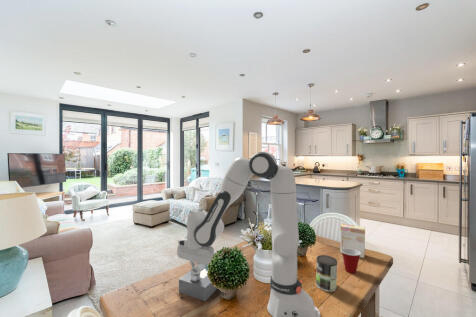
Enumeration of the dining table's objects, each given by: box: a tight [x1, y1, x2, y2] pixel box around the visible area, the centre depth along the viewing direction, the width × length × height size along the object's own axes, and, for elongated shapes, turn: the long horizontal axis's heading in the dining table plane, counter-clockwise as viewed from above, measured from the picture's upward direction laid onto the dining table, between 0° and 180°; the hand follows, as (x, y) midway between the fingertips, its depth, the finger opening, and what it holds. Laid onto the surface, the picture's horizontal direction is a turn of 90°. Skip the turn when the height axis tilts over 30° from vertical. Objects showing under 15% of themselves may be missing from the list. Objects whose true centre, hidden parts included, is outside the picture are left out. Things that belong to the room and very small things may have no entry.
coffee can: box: [315, 254, 338, 293], centre depth 117 cm, size 10×10×14 cm
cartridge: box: [200, 265, 208, 278], centre depth 117 cm, size 12×5×8 cm, turn 155°
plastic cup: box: [341, 248, 361, 274], centre depth 132 cm, size 11×11×12 cm
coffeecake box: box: [339, 223, 366, 259], centre depth 155 cm, size 15×7×20 cm, turn 58°
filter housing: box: [178, 264, 217, 302], centre depth 115 cm, size 18×16×6 cm
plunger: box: [190, 268, 201, 283], centre depth 109 cm, size 5×5×6 cm
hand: (195, 269), depth 109 cm, fingers closed
